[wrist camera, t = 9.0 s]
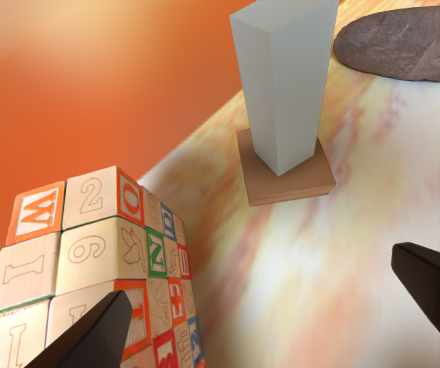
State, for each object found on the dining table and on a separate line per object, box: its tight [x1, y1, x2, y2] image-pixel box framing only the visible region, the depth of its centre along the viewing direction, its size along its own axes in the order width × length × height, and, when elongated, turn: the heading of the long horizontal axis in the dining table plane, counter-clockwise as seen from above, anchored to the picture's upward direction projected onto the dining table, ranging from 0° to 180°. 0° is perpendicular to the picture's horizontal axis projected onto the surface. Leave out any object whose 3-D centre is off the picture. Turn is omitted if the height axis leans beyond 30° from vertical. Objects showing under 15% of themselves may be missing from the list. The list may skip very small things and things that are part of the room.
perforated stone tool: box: [333, 6, 440, 82], centre depth 24 cm, size 15×5×7 cm, turn 65°
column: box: [230, 0, 339, 177], centre depth 16 cm, size 4×4×12 cm
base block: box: [237, 129, 336, 207], centre depth 23 cm, size 8×8×3 cm
